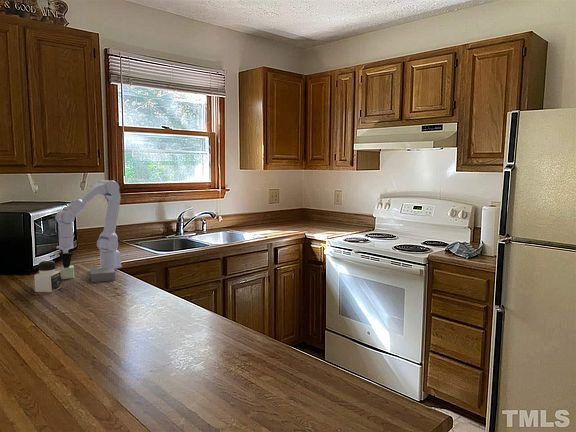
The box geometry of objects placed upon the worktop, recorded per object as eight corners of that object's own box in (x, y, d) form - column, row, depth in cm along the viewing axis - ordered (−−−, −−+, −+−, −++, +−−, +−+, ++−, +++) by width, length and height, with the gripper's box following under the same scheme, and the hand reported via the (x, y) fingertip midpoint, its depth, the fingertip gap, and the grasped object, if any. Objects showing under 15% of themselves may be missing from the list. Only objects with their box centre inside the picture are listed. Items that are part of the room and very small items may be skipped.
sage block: (62, 276, 204) (61, 266, 204) (74, 275, 206) (73, 265, 206) (61, 279, 200) (60, 268, 199) (73, 278, 202) (73, 267, 201)
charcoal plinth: (91, 277, 205) (91, 269, 204) (114, 275, 208) (114, 267, 208) (91, 282, 195) (90, 274, 195) (115, 280, 199) (114, 272, 199)
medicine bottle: (52, 292, 180) (50, 263, 178) (34, 292, 180) (33, 263, 178) (61, 287, 187) (59, 259, 185) (44, 287, 187) (43, 259, 185)
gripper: (57, 234, 206) (58, 263, 207) (54, 239, 193) (56, 270, 194) (73, 233, 209) (75, 262, 210) (72, 238, 195) (73, 268, 197)
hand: (67, 265), depth 202 cm, fingers open, 7 cm apart
